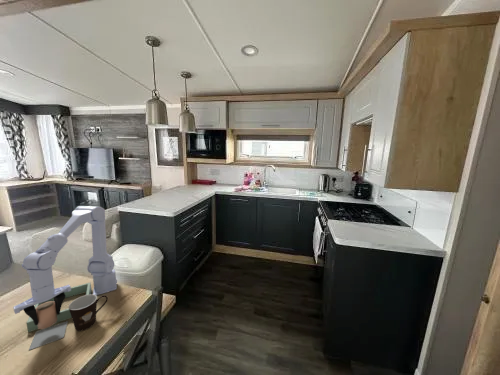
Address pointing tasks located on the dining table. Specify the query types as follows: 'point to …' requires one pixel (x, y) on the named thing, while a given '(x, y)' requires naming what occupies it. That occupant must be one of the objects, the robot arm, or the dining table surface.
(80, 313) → the coffee mug
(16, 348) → the dining table surface
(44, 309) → the pink plant pot
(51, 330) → the slate mat
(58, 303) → the robot arm
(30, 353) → the dining table surface
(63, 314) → the green square frame
